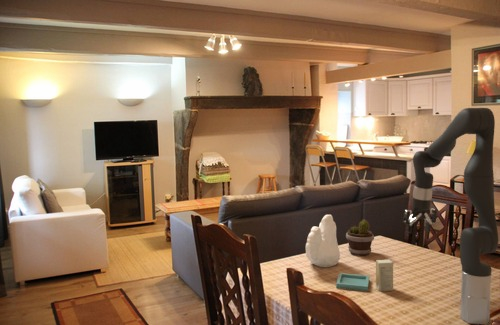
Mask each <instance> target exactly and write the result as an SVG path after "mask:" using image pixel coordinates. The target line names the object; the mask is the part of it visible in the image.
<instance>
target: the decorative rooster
mask: <svg viewBox="0 0 500 325" xmlns="http://www.w3.org/2000/svg"><path fill="white" fill-rule="evenodd" d="M305 257H306V258H307V259H308V260H309V261H310V263H311V264H312V265H314V266H317V267H319V268H321V267H322V268H331V267H333V266H336V265H337V264H338V263H339V261H340V259H341V251H340V248H339V244H338V239H337V225H336V222H335V221H334V218H333V215H332V214H325V215H324V216H323V217H322V219H321V221H320V222H319V226H312V227H311V228H310V232H309V233H308V236H307V239H306V243H305Z"/></svg>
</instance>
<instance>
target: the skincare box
mask: <svg viewBox="0 0 500 325" xmlns="http://www.w3.org/2000/svg"><path fill="white" fill-rule="evenodd" d="M375 288H376V289H377V291H379V292H386V291H387V292H388V291H394V262H393V261H392V260H391V259H376V260H375Z"/></svg>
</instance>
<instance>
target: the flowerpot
mask: <svg viewBox="0 0 500 325" xmlns="http://www.w3.org/2000/svg"><path fill="white" fill-rule="evenodd" d="M370 226H371V225H370V224H369V222H368V221H367V219H365V218H364V219H363V218H362V220H361V221H360V222H359V223H358V227H357V226H356V225H353V226H352V227H350V229H348V230H347V232H346V233H345V238H346V240H347V242H348V247H347V248H348V251H349V253H350V254H352V255H354V256H369V254H370V253H371V251H372V243H373V241H374V240H375V235H374V234H373V232H372V231H370V230H369V229H370Z"/></svg>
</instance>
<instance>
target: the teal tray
mask: <svg viewBox="0 0 500 325" xmlns="http://www.w3.org/2000/svg"><path fill="white" fill-rule="evenodd" d="M369 284H370V275H365V274H364V275H363V274H353V273H343V272H339V274H338V276H337V279H336V284H335V285H336V286H335V288H336V289H344V290H351V291H358V292H359V291H360V292H361V291H362V292H369Z"/></svg>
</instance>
